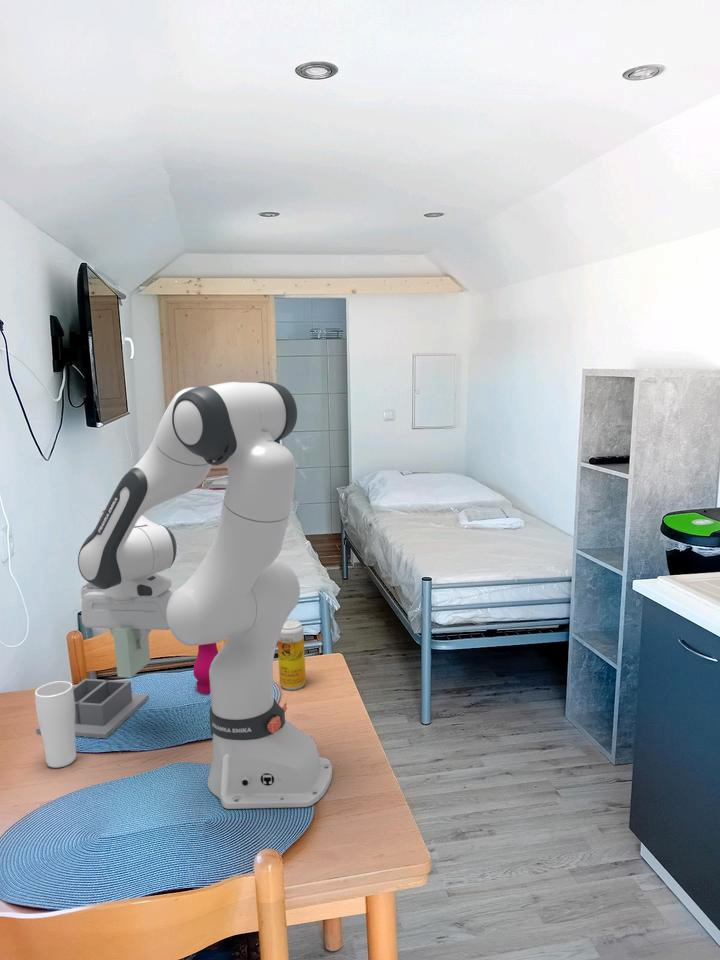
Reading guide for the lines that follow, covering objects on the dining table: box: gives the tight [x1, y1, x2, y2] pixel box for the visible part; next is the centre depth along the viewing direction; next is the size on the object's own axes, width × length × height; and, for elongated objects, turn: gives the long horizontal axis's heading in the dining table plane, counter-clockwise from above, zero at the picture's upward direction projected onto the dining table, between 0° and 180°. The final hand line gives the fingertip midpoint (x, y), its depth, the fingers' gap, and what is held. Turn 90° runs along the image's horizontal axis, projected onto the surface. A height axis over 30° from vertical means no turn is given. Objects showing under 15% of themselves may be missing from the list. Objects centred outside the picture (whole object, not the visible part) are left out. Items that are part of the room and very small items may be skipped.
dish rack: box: [35, 678, 150, 739], centre depth 154 cm, size 16×18×6 cm
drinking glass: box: [34, 680, 77, 769], centre depth 135 cm, size 7×7×15 cm
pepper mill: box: [192, 642, 219, 695], centre depth 164 cm, size 7×7×20 cm
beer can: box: [277, 619, 307, 691], centre depth 165 cm, size 6×6×15 cm
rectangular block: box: [112, 626, 151, 679], centre depth 146 cm, size 3×8×10 cm, turn 168°
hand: (132, 647), depth 146 cm, fingers closed on rectangular block, 3 cm apart
